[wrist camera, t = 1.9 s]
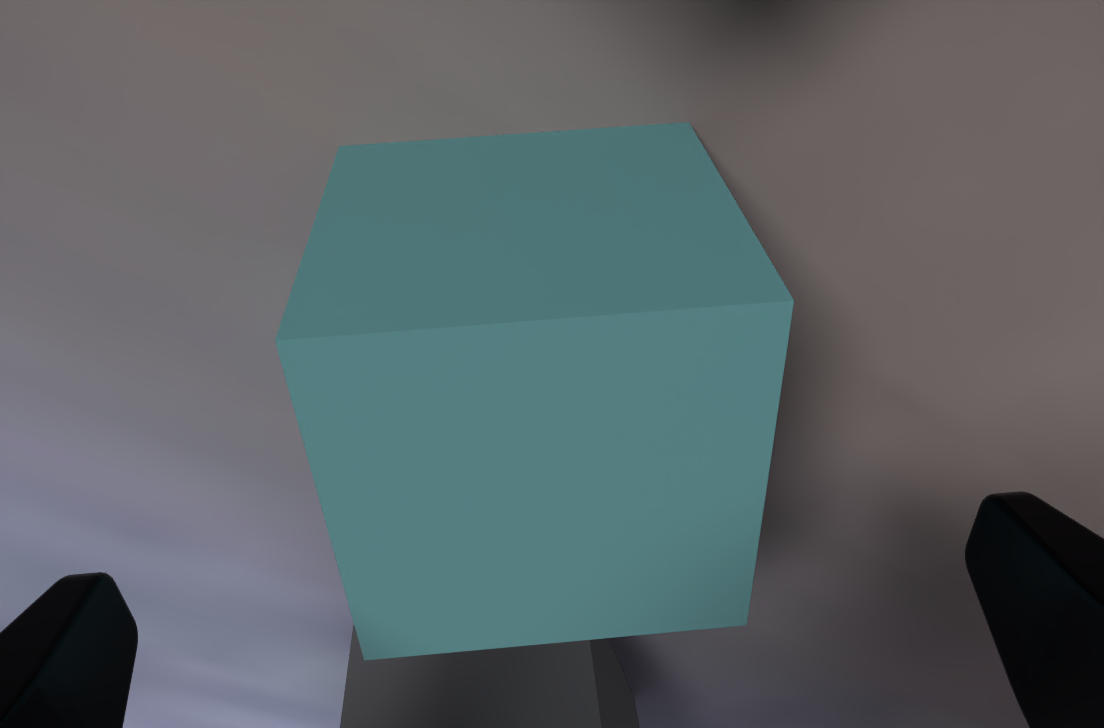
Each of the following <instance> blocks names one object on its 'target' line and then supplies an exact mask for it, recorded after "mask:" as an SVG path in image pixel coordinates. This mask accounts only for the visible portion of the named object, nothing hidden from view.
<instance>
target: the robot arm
mask: <svg viewBox="0 0 1104 728" xmlns="http://www.w3.org/2000/svg"><path fill="white" fill-rule="evenodd" d="M965 561H966V566H967V570H968V573H969V576H970V578H971V581H972V584H973V586H974V589H975V592H976V594H977V597H978V599H979V602H980V605H981V607H982V610H983V613H984V615H985V618H986V621H987V623H988V626H989V629H990V631H991V634H992V637H993V639H994V642H995V645H996V647H997V650H998V653H999V655H1000V658H1001V661H1002V663H1003V666H1004V669H1005V671H1006V674H1007V677H1008V679H1009V682H1010V684H1011V687H1012V689H1013V692H1014V694H1015V697H1016V699H1017V701H1018V704H1019V706H1020V708H1021V710H1022V712H1023V714H1024V717H1025V719H1026V721H1027V723H1028V725H1029V727H1030V728H1104V539H1103V538H1102V537H1100V536H1099V535H1097V534H1095V533H1094V532H1092V531H1091V530H1089V529H1087V528H1086V527H1084V526H1083V525H1081V524H1079V523H1078V522H1076V521H1075V520H1073V519H1071V518H1070V517H1068V516H1067V515H1065V514H1063V513H1062V512H1060V511H1059V510H1057V509H1055V508H1054V507H1052V506H1051V505H1049V504H1047V503H1046V502H1044V501H1043V500H1041V499H1039V498H1038V497H1036V496H1034V495H1032V494H1030V493H1027V492H1009V493H997V494H991V495H988V496H987V497H986V498H985V499H984V500H982V502H981V504H980V507H979V510H978V513H977V516H976V519H975V521H974V524H973V527H972V530H971V533H970V536H969V538H968V541H967V544H966V549H965ZM137 645H138V631H137V626H136V622H135V620H134V618H133V616H132V614H131V612H130V610H129V608H128V606H127V604H126V602H125V600H124V598H123V596H122V595H121V593H120V591H119V589H118V587H117V585H116V583H115V581H114V580H113V578H112V577H111V576H109V575H108V574H106V573H102V572H98V573H86V574H75V575H68V576H65V577H63V578H61V579H60V580H58V581H57V582H56V583H54V584H53V585H52V586H51V587H50V588H49V589H48V590H47V591H46V592H45V593H43V594H42V595H41V596H40V597H39V598H38V599H37V600H36V601H35V602H34V603H32V604H31V605H30V606H29V607H28V608H27V609H26V610H25V611H24V612H23V613H21V614H20V615H19V616H18V617H17V618H16V619H15V620H14V621H13V622H12V623H10V624H9V625H8V626H7V627H6V628H5V629H4V630H3V631H2V632H0V728H123V722H124V717H125V711H126V706H127V700H128V695H129V689H130V684H131V678H132V673H133V667H134V662H135V657H136V651H137Z"/></svg>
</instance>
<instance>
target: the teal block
mask: <svg viewBox="0 0 1104 728" xmlns="http://www.w3.org/2000/svg"><path fill="white" fill-rule="evenodd" d="M793 304H794V300H793V298H792V296H791V295H790V293H789V291H788V290H787V288H786V286H785V284H784V283H783V281H782V279H781V278H780V276H779V274H778V273H777V271H776V269H775V268H774V266H773V264H772V262H771V261H770V259H769V257H768V256H767V254H766V252H765V251H764V249H763V247H762V245H761V244H760V242H759V240H758V239H757V237H756V235H755V234H754V232H753V230H752V228H751V227H750V225H749V223H748V222H747V220H746V218H745V217H744V215H743V213H742V212H741V210H740V208H739V206H738V205H737V203H736V201H735V200H734V198H733V196H732V195H731V193H730V191H729V189H728V188H727V186H726V184H725V183H724V181H723V179H722V178H721V176H720V174H719V172H718V171H717V169H716V167H715V166H714V164H713V162H712V161H711V159H710V157H709V156H708V154H707V152H706V150H705V149H704V147H703V145H702V144H701V142H700V140H699V139H698V137H697V135H696V133H695V132H694V130H693V128H692V127H691V125H690V123H689V122H684V123H670V124H655V125H641V126H626V127H612V128H597V129H583V130H568V131H554V132H539V133H525V134H510V135H495V136H481V137H466V138H452V139H437V140H423V141H408V142H394V143H379V144H365V145H350V146H339V148H338V151H337V154H336V157H335V160H334V163H333V166H332V169H331V173H330V176H329V179H328V182H327V185H326V188H325V191H324V194H323V197H322V200H321V203H320V206H319V209H318V212H317V215H316V218H315V221H314V224H313V227H312V230H311V233H310V236H309V239H308V242H307V245H306V248H305V251H304V254H303V257H302V260H301V263H300V266H299V270H298V273H297V276H296V279H295V282H294V285H293V288H292V291H291V294H290V297H289V300H288V303H287V306H286V309H285V312H284V315H283V318H282V321H281V324H280V327H279V330H278V333H277V336H276V339H275V342H276V346H277V349H278V353H279V357H280V360H281V364H282V367H283V371H284V375H285V378H286V382H287V385H288V389H289V392H290V396H291V400H292V403H293V407H294V410H295V414H296V418H297V421H298V425H299V428H300V432H301V435H302V439H303V443H304V446H305V450H306V453H307V457H308V461H309V464H310V468H311V471H312V475H313V478H314V482H315V486H316V489H317V493H318V496H319V500H320V504H321V507H322V511H323V514H324V518H325V521H326V525H327V529H328V532H329V536H330V539H331V543H332V547H333V550H334V554H335V557H336V561H337V564H338V568H339V572H340V575H341V579H342V582H343V586H344V590H345V593H346V597H347V600H348V604H349V607H350V611H351V615H352V618H353V622H354V625H355V629H356V633H357V636H358V640H359V643H360V647H361V650H362V654H363V658H364V660H375V659H386V658H397V657H408V656H419V655H430V654H440V653H451V652H462V651H473V650H484V649H495V648H506V647H517V646H527V645H538V644H549V643H560V642H571V641H582V640H593V639H604V638H614V637H625V636H636V635H647V634H658V633H669V632H680V631H691V630H701V629H712V628H723V627H734V626H745V625H747V619H748V613H749V606H750V599H751V592H752V585H753V578H754V571H755V565H756V558H757V551H758V544H759V537H760V530H761V523H762V517H763V510H764V503H765V496H766V489H767V482H768V476H769V469H770V462H771V455H772V448H773V441H774V434H775V428H776V421H777V414H778V407H779V400H780V393H781V387H782V380H783V373H784V366H785V359H786V352H787V345H788V339H789V332H790V325H791V318H792V311H793Z"/></svg>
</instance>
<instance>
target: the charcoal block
mask: <svg viewBox="0 0 1104 728" xmlns="http://www.w3.org/2000/svg"><path fill="white" fill-rule="evenodd" d="M340 728H639V723H638V717H637V711H636V706H635V700H634V696H633V694H632V691H631V689H630V687H629V684H628V682H627V679H626V677H625V675H624V672H623V670H622V667H621V665H620V663H619V660H618V658H617V655H616V653H615V651H614V648H613V646H612V643H611V641H610V639H609V638H604V639H593V640H582V641H571V642H560V643H549V644H538V645H527V646H517V647H506V648H495V649H484V650H473V651H462V652H451V653H440V654H430V655H419V656H408V657H397V658H386V659H375V660H364V658H363V654H362V650H361V647H360V643H359V640H358V636H357V633H356V629H355V625H353V632H352V640H351V647H350V655H349V663H348V670H347V678H346V686H345V693H344V701H343V708H342V716H341V724H340Z"/></svg>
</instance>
